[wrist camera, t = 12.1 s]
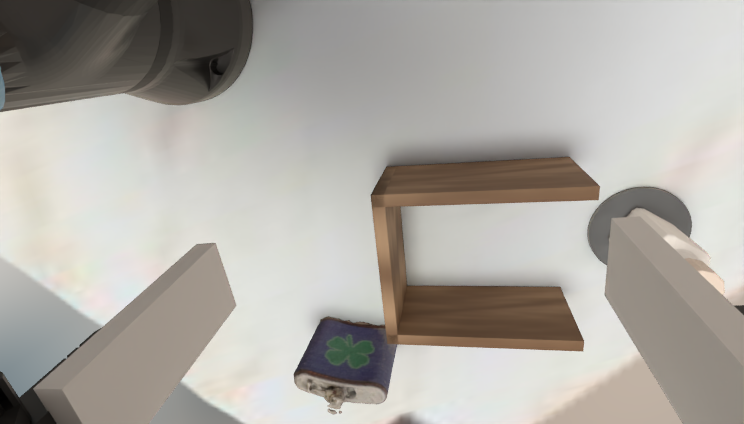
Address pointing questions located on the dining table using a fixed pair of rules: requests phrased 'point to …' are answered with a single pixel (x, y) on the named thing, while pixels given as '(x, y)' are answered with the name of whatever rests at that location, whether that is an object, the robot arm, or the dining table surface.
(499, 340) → the wooden u-shaped frame
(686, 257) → the pepper shaker
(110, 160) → the dining table surface
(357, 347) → the flask
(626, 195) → the slate coaster
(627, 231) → the robot arm
